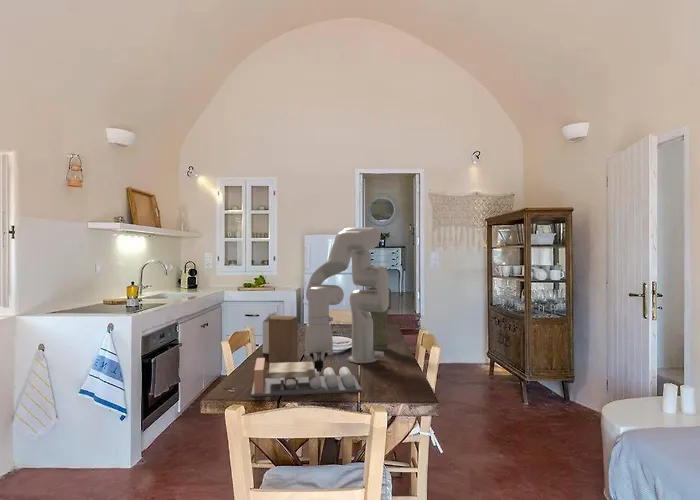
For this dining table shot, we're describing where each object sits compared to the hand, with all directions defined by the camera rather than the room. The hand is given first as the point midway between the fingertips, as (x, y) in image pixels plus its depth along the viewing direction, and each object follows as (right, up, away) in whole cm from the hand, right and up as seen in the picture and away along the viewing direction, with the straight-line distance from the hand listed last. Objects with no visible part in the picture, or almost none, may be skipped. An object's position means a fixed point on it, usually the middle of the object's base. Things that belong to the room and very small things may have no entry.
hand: (318, 370), depth 176 cm
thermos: (+26, -5, +62) cm, 68 cm away
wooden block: (-18, -5, +34) cm, 39 cm away
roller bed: (-5, -5, -1) cm, 7 cm away
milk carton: (-26, -5, +55) cm, 61 cm away
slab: (-10, 0, -1) cm, 10 cm away
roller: (-11, -5, -1) cm, 12 cm away
